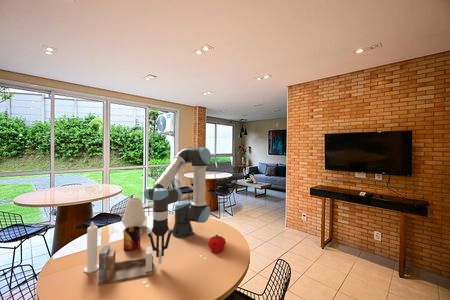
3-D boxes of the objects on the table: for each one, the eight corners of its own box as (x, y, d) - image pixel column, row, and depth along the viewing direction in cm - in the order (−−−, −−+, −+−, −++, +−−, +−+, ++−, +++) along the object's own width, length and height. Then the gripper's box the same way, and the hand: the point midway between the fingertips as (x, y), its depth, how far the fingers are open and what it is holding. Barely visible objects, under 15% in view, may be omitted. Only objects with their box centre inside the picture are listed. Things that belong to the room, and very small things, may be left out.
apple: (215, 244, 133) (215, 229, 133) (228, 249, 127) (228, 233, 127) (205, 251, 125) (205, 235, 125) (218, 256, 119) (218, 239, 119)
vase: (130, 223, 169) (130, 195, 169) (149, 224, 166) (150, 196, 166) (116, 231, 152) (117, 201, 151) (138, 233, 149) (138, 202, 149)
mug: (139, 253, 120) (139, 233, 120) (120, 250, 124) (120, 231, 124) (149, 246, 130) (149, 227, 130) (130, 243, 133) (131, 225, 133)
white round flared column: (82, 274, 100) (82, 224, 100) (85, 266, 106) (86, 220, 106) (98, 271, 103) (99, 222, 103) (101, 263, 109) (101, 218, 109)
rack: (152, 263, 111) (153, 238, 111) (153, 275, 100) (153, 247, 100) (103, 271, 102) (103, 244, 102) (97, 285, 92) (98, 255, 92)
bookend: (152, 262, 109) (152, 246, 109) (151, 271, 102) (152, 253, 101) (146, 263, 108) (146, 247, 108) (145, 272, 101) (145, 254, 100)
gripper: (172, 214, 112) (171, 256, 112) (147, 217, 108) (146, 260, 108) (173, 219, 105) (173, 263, 105) (147, 222, 100) (146, 268, 101)
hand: (159, 262), depth 106 cm, fingers closed
